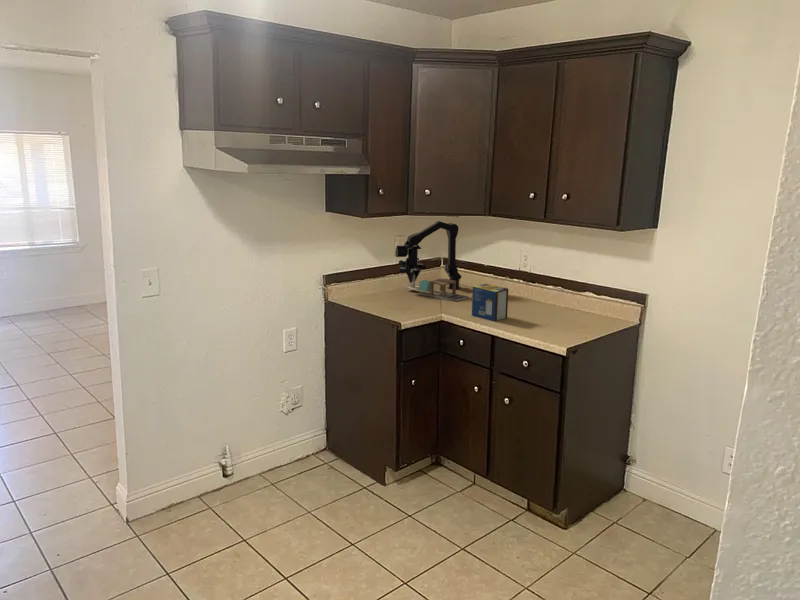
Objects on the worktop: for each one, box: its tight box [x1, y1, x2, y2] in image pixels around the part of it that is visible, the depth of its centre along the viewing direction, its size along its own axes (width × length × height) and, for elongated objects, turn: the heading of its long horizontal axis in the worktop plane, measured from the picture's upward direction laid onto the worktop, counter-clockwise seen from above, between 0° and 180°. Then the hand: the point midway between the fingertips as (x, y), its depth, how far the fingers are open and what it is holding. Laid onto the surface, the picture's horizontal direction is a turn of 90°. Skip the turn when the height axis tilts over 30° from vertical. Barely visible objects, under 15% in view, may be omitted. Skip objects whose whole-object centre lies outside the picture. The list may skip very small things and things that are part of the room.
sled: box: [406, 274, 447, 295], centre depth 368 cm, size 8×24×9 cm, turn 51°
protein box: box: [471, 283, 509, 322], centre depth 318 cm, size 10×15×16 cm
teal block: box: [418, 279, 431, 291], centre depth 368 cm, size 6×6×5 cm
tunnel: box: [417, 277, 469, 302], centre depth 361 cm, size 12×27×9 cm, turn 51°
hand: (412, 282), depth 375 cm, fingers closed on sled, 3 cm apart
